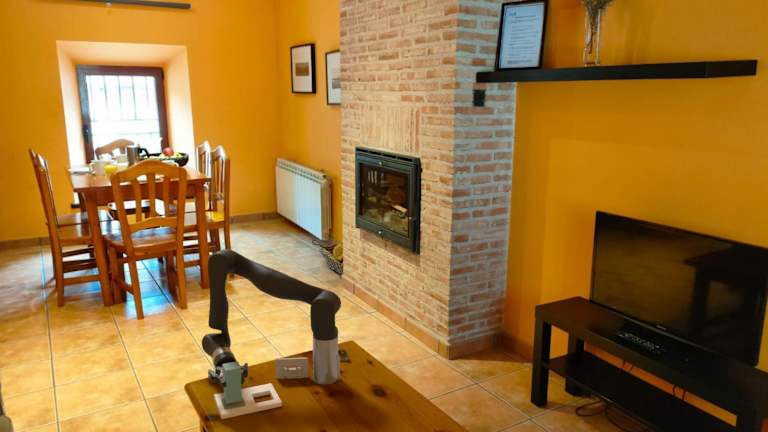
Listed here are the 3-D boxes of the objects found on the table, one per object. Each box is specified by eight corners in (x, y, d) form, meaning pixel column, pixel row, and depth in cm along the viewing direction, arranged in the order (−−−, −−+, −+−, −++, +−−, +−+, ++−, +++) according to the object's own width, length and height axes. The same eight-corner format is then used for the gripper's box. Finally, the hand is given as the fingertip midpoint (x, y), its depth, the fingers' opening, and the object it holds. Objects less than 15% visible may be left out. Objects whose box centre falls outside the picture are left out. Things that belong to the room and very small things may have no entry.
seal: (309, 362, 231) (345, 366, 227) (309, 352, 229) (345, 356, 226) (317, 350, 239) (352, 354, 236) (317, 340, 238) (352, 344, 234)
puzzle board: (271, 387, 208) (271, 382, 208) (281, 406, 196) (281, 401, 195) (214, 398, 200) (214, 394, 199) (221, 419, 187) (221, 414, 187)
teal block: (238, 393, 197) (237, 361, 195) (241, 400, 193) (240, 367, 190) (223, 396, 195) (222, 363, 193) (226, 403, 191) (225, 370, 188)
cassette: (275, 379, 214) (275, 360, 212) (276, 376, 216) (275, 357, 214) (308, 378, 215) (308, 358, 214) (308, 375, 217) (308, 356, 216)
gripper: (203, 354, 201) (211, 376, 186) (244, 347, 207) (255, 368, 193) (203, 374, 203) (212, 397, 188) (244, 367, 209) (255, 389, 194)
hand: (233, 383), depth 190 cm, fingers closed on teal block, 5 cm apart
